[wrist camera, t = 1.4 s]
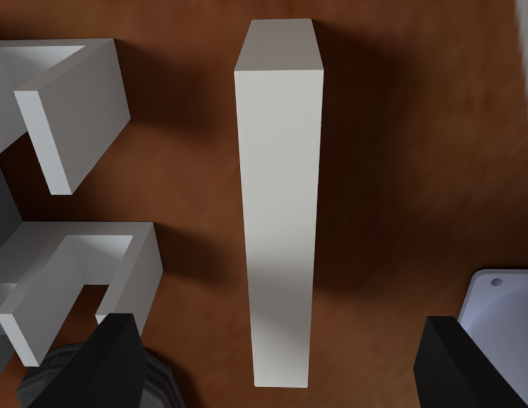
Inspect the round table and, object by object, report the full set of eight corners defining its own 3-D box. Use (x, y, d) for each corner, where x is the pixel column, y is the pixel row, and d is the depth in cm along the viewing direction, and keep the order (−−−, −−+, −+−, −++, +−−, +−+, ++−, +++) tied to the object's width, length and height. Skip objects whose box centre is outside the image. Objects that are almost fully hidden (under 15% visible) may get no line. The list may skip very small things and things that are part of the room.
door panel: (252, 19, 14) (234, 71, 10) (310, 17, 14) (323, 69, 9) (262, 276, 21) (254, 386, 16) (302, 277, 21) (307, 387, 16)
